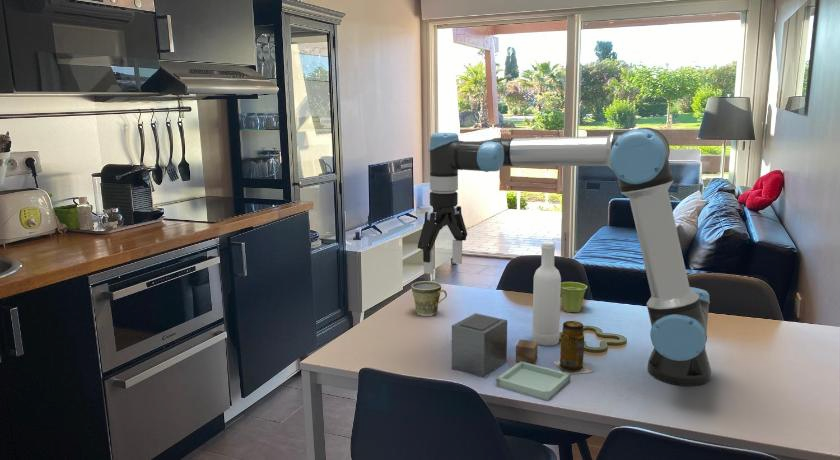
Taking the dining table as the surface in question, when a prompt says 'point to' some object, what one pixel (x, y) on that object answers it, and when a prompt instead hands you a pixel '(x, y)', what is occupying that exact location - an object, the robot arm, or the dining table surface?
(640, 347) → the dining table surface
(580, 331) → the condiment
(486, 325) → the unit
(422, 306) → the ceramic cup
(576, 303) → the plant pot
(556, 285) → the bottle
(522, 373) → the tray
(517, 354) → the walnut block
